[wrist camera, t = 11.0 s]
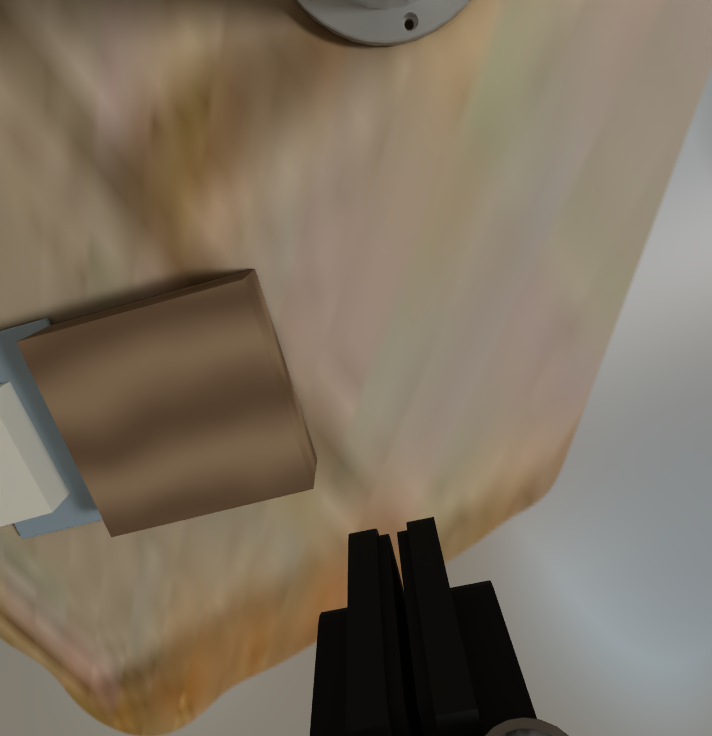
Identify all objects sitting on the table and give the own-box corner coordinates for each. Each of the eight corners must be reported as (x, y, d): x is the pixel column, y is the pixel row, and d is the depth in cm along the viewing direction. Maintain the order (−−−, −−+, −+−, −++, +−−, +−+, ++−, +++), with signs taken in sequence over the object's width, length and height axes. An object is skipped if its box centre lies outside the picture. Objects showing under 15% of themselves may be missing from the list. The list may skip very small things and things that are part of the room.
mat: (-77, 352, 37) (-81, 353, 37) (47, 317, 36) (45, 318, 36) (24, 536, 42) (22, 539, 41) (136, 509, 41) (135, 511, 40)
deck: (51, 324, 36) (16, 341, 32) (254, 268, 35) (242, 279, 31) (133, 503, 41) (111, 537, 37) (317, 459, 39) (313, 488, 36)
